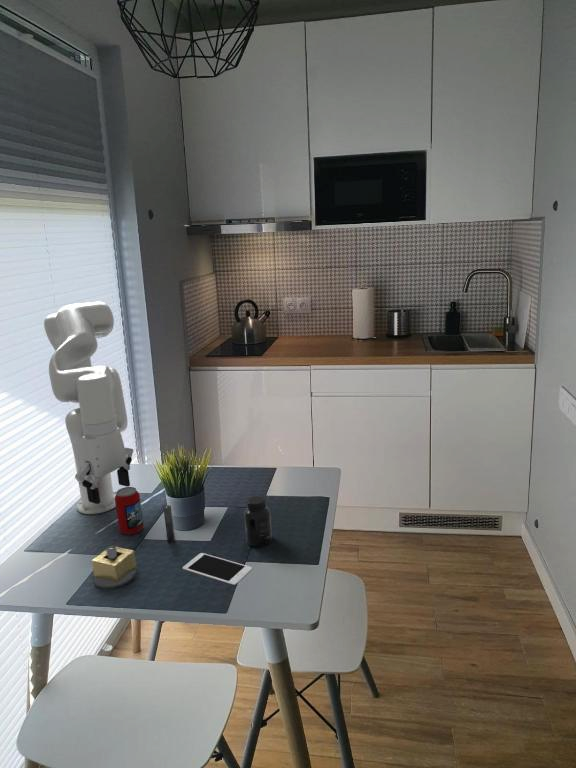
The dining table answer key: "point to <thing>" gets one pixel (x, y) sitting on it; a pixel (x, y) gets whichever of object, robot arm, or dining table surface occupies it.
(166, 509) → the stand rod
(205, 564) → the cell phone
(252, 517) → the supplement bottle
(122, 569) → the collar
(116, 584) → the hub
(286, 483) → the dining table surface
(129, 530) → the beverage can
